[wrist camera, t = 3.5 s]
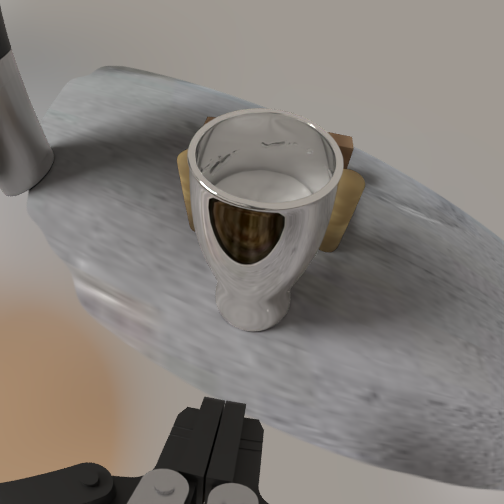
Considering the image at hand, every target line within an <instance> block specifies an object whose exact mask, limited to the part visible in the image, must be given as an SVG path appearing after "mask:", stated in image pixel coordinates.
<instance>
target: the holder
mask: <svg viewBox="0 0 504 504" xmlns="http://www.w3.org/2000/svg"><path fill="white" fill-rule="evenodd" d="M215 118H216V117H207V119H206V121H205V123H204V125H205V124H207V123H208V122H210V121H211V120H213V119H215ZM204 125H203V126H204ZM328 133H329V134H330V135H331V137H332V138H333V139H334V140H335V141H336V143H337V145H338V146H339V148H340V150H341V153H342V156H343V173H342V176H341V179H340V181H339V186H338V190H337V195H336V199H335V204H334V208H333V211H332V215H331V219H330V222H329V225H328V228H327V231H326V234H325V237H324V239H323V241H322V243H321V245H320V248H319V250H321V251H324V252H332V251H334V250H336V249H337V247H338V245H339V243H340V241H341V239H342V236H343V234H344V232H345V230H346V228H347V226H348V224H349V221H350V219H351V217H352V215H353V213H354V210H355V208H356V206H357V204H358V201H359V199H360V197H361V195H362V192H363V190H364V188H365V181H364V179H363V177H362V176H361V175H360V174H358V173H357V172H355V171H353V170H350V169H347V166H348V164H349V161H350V158H351V155H352V152H353V142H352V137H350V136H344V135H340V134H334V133H330V132H328ZM187 153H188V149H187V150H185V151H183V152H181V153H180V154H179V155H178V157H177V164H178V169H179V175H180V180H181V185H182V190H183V195H184V200H185V205H186V210H187V215H188V220H189V224H190V228H191V229H192V230H193V231H194V232H195V228H194V224H193V217H192V210H191V201H190V185H189V166H188V160H187Z"/></svg>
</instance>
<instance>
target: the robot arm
mask: <svg viewBox="0 0 504 504" xmlns="http://www.w3.org/2000/svg"><path fill="white" fill-rule="evenodd" d="M53 160H54V153H53V151H52V149H51V147H50V145H49V143H48V141H47V138H46V136H45V134H44V132H43V129H42V127H41V125H40V123H39V120H38V118H37V116H36V113H35V111H34V108H33V106H32V104H31V101H30V99H29V96H28V94H27V91H26V88H25V86H24V83H23V80H22V78H21V75H20V73H19V70H18V67H17V64H16V61H15V58H14V55H13V52H12V49H11V45H10V42H9V39H8V36H7V32H6V28H5V24H4V20H3V16H2V12H1V7H0V189H1V190H2V192H3V193H4V194H5V195H7V196H16V195H19V194H21V193H23V192H25V191H27V190H29V189H30V188H32V187H33V186H34V185H36V184H37V183H38V182H39V181H40V180H41V179H42V178H43V177H44V176H45V175H46V173H47V172H48V171H49V169H50V167H51V166H52V163H53ZM224 405H225V407H224ZM245 408H246V404H243V403H237V402H231V401H226V403H225V400H220V399H214V398H209V397H204V399H203V402H202V405H201V408H200V409H195V408H190V407H187V408H186V409H185V410H183V411H182V412H181V413H180V414H178V416H177V418H176V421H175V423H174V426H173V428H172V430H171V433H170V435H169V437H168V439H167V441H166V444H165V446H164V448H163V451H162V453H161V455H160V457H159V460H158V462H157V464H156V466H155V468H154V469H153V470H152V471H149V472H148V473H146V474H145V475H144V476H140V477H119V476H111V474H110V472H109V471H108V470H107V469H106V468H104V467H103V466H101V465H99V464H95V463H81V464H78V465H74V466H71V467H67V468H64V469H60V470H57V471H53V472H49V473H45V474H41V475H37V476H33V477H29V478H25V479H20V480H15V481H10V482H4V483H0V504H268V503H267V502H266V501H265V500H264V499H263V498H262V496H261V495H260V493H259V489H258V484H259V475H260V465H261V454H262V443H263V433H264V430H263V428H262V426H261V423H260V421H259V420H257V419H250V418H244V414H245ZM204 501H205V503H204Z"/></svg>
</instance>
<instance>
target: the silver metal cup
mask: <svg viewBox="0 0 504 504" xmlns="http://www.w3.org/2000/svg"><path fill="white" fill-rule="evenodd" d="M187 160H188V166H189V185H190V201H191V210H192V217H193V224H194V228H195V232H196V236H197V240H198V243H199V246H200V248H201V251H202V253H203V255H204V258H205V260H206V262H207V264H208V266H209V267H210V269H211V271H212V273H213V275H214V276H215V278H216V280H217V281H218V282H217V286H216V291H215V300H216V305H217V308H218V310H219V312H220V314H221V315H222V317H223V318H224V319H225V320H226V321H227V322H228V323H229V324H231V325H232V326H234V327H236V328H238V329H241V330H245V331H253V332H254V331H262V330H266V329H269V328H271V327H273V326H274V325H276V324H277V323H279V322H280V321H281V320H282V319H283V317H284V316H285V315H286V313H287V311H288V309H289V306H290V299H291V291H290V288H291V287H292V286H293V285H294V284H295V283H296V281H297V280H298V279H299V278H300V277H301V275H302V274H303V273H304V272H305V271H306V269H307V268H308V266H309V265H310V263H311V262H312V260H313V259H314V257H315V256H316V254H317V252H318V250H319V248H320V245H321V243H322V241H323V239H324V237H325V234H326V231H327V228H328V225H329V222H330V219H331V215H332V211H333V208H334V204H335V199H336V195H337V190H338V186H339V181H340V179H341V176H342V173H343V156H342V153H341V150H340V148H339V146H338V145H337V143H336V141H335V140H334V139H333V138H332V137H331V135H330V134H329V133H328V132H326V131H325V130H324V129H323V128H321V127H320V126H319V125H317V124H315V123H314V122H312V121H310V120H308V119H306V118H304V117H302V116H299V115H296V114H293V113H290V112H286V111H281V110H275V109H264V108H255V109H244V110H238V111H234V112H230V113H227V114H224V115H221V116H219V117H217V118H215V119H213V120H211V121H210V122H208V123H207V124H205V125H204V126H203V127H202V128H200V129H199V130H198V132H197V133H196V134H195V135H194V137H193V138H192V140H191V142H190V144H189V147H188V153H187Z"/></svg>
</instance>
